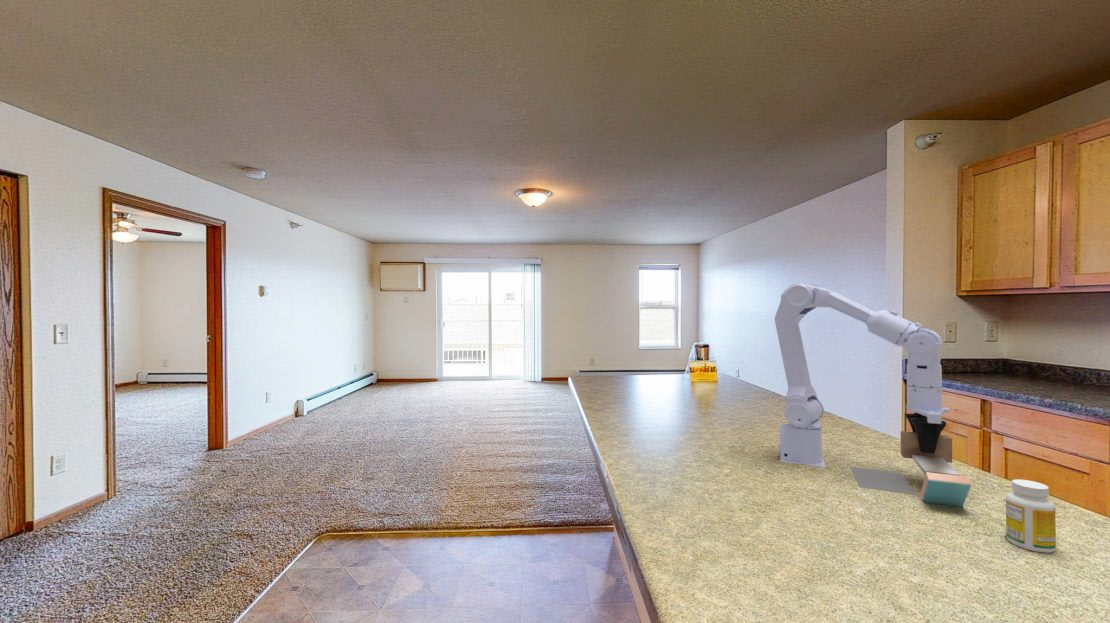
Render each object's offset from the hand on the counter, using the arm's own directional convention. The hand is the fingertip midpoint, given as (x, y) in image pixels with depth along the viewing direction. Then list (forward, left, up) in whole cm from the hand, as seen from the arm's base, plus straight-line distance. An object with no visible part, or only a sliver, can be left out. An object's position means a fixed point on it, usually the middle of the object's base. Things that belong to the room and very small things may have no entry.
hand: (925, 450), depth 94 cm
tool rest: (-8, -1, -8) cm, 11 cm away
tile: (0, -10, -7) cm, 12 cm away
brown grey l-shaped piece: (0, -4, -2) cm, 4 cm away
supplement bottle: (+8, -23, -8) cm, 25 cm away
